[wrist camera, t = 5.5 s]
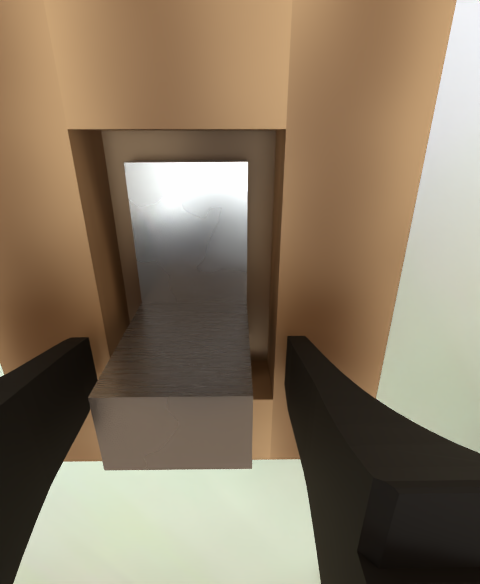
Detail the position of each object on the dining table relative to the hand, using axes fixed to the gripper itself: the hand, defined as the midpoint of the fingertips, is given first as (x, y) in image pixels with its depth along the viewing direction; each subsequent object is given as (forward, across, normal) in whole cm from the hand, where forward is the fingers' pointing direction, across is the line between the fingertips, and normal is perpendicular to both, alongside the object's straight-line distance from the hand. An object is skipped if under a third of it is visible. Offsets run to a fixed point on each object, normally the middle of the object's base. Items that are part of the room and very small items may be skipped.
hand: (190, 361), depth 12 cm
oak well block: (+4, 0, -2) cm, 4 cm away
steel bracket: (+3, 0, -3) cm, 4 cm away
